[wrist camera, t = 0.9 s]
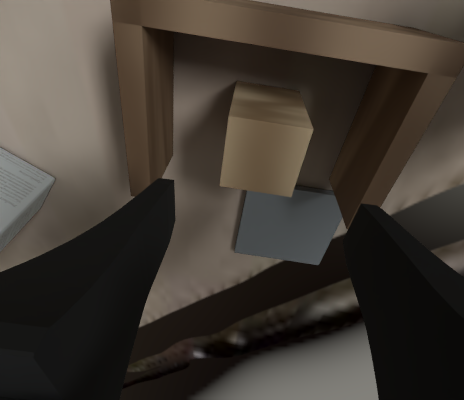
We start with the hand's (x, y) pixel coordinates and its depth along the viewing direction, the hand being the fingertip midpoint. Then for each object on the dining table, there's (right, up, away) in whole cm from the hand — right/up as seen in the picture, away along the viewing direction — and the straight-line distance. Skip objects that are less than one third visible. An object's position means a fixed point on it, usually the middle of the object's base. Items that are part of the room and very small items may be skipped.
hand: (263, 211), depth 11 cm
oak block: (+1, +6, +8) cm, 10 cm away
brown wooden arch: (+1, +7, +7) cm, 10 cm away
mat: (+4, -2, +14) cm, 14 cm away
